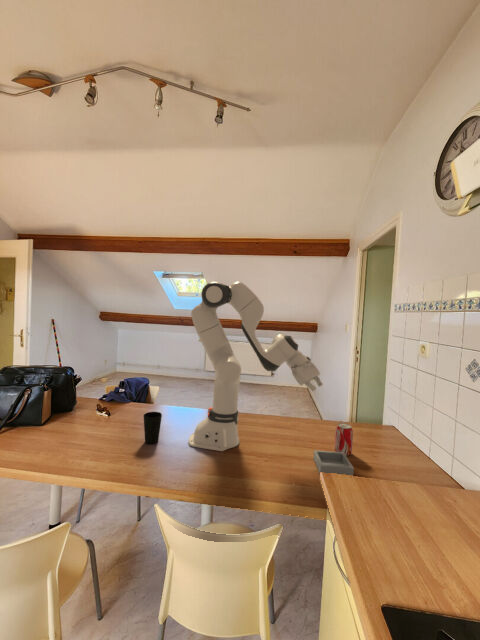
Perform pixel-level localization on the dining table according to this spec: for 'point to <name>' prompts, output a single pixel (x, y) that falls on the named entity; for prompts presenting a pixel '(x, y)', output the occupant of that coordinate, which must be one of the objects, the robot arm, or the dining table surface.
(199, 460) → the dining table surface
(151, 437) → the cup
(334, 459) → the tray
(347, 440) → the soda can
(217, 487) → the dining table surface
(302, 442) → the dining table surface
